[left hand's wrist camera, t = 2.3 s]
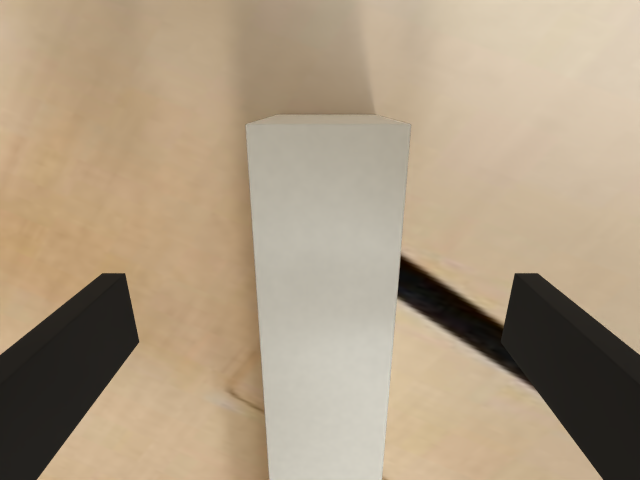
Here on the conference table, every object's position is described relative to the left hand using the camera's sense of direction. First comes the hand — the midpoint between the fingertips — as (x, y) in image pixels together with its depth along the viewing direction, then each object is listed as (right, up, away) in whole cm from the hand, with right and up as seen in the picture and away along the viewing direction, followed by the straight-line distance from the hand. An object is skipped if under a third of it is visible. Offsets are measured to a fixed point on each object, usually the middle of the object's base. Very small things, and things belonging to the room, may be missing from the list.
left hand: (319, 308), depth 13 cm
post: (0, -18, +17) cm, 25 cm away
